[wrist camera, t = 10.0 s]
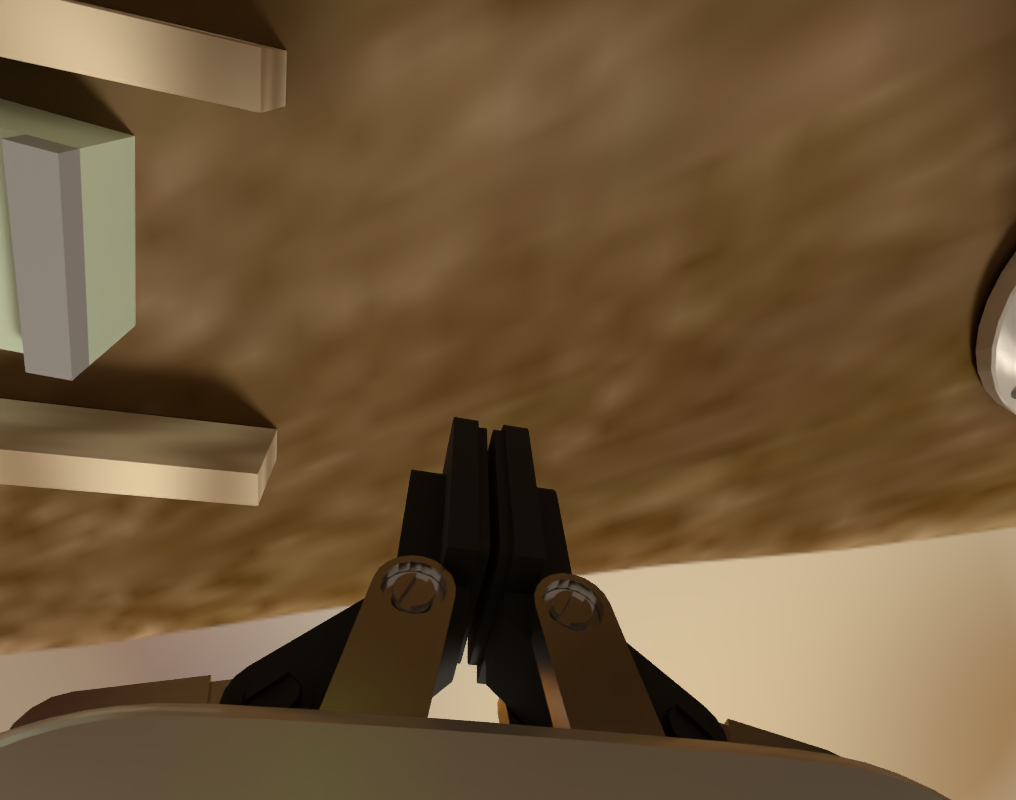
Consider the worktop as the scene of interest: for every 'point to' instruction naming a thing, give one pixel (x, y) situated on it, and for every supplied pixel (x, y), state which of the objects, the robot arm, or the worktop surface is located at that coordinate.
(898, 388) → the worktop surface
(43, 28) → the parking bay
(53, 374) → the pale green block
